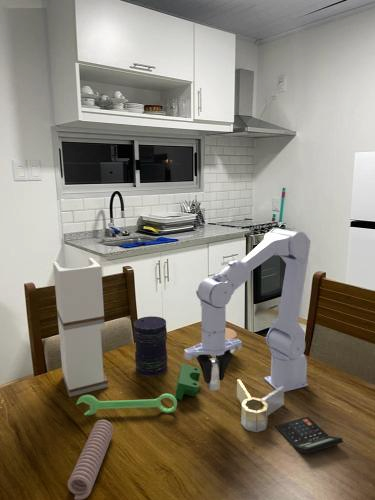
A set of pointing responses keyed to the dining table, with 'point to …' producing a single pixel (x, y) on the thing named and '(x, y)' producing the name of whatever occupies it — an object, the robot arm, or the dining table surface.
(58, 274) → the grey boxy piece
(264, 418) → the tan ring with arms
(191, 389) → the clamp
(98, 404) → the wrench
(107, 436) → the coil
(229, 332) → the lidded jar
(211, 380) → the hinge pin
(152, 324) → the storage jar
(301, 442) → the calculator
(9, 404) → the dining table surface
